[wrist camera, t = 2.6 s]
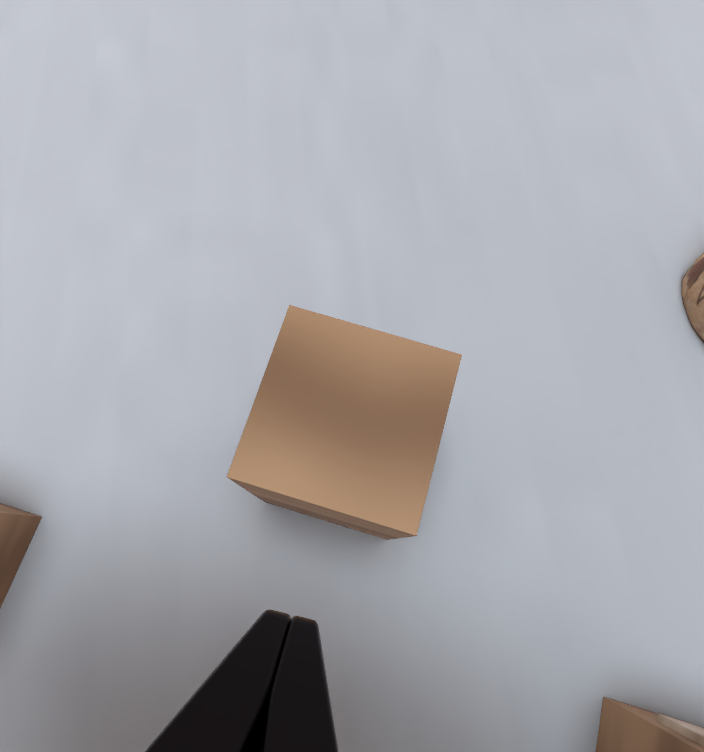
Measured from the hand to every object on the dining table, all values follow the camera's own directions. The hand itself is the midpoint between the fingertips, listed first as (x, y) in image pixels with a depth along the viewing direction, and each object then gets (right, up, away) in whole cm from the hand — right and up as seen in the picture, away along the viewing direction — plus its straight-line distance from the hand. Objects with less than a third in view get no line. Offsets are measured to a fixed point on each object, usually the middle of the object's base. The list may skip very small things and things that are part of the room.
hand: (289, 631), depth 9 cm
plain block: (+1, +1, +14) cm, 14 cm away
